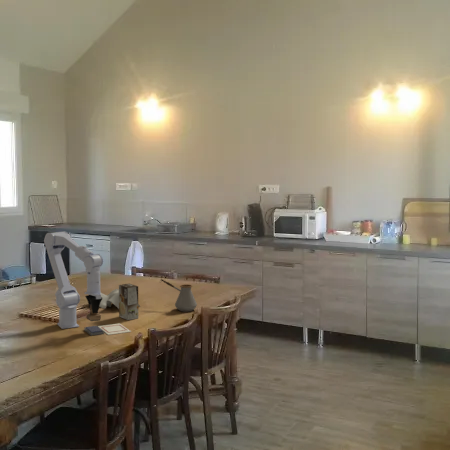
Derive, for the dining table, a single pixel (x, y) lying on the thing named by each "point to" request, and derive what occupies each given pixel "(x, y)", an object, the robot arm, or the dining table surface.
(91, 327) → the ink pad
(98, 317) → the stamp
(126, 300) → the coffee box
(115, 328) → the sheet
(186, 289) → the coffee pot
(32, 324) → the dining table surface
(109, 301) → the sculpture
